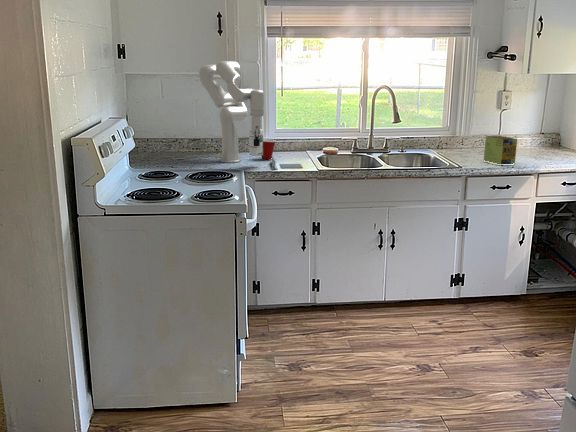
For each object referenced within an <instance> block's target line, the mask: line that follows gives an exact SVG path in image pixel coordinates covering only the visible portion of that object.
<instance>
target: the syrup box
mask: <svg viewBox="0 0 576 432" xmlns="http://www.w3.org/2000/svg"><path fill="white" fill-rule="evenodd" d="M251 131H252V130H251V129H250V130H249V131H248V138H249V141H248V143H249V144H248V147H249V151H248V153H249V156H252V157H260V156H261V155H263V139H264V129H263V128H261V133H260V132H259V131H258V133H260V134H259V139H260V146H254V133H253V134H252V132H251ZM255 133H256V132H255ZM261 157H262V156H261Z"/></svg>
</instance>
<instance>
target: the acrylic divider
mask: <svg viewBox="0 0 576 432" xmlns="http://www.w3.org/2000/svg"><path fill="white" fill-rule="evenodd" d="M269 165H272V166H271V170H272V171H278V167H276V159H275V157H274V155H273V154H272V159H271V161H269Z"/></svg>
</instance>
